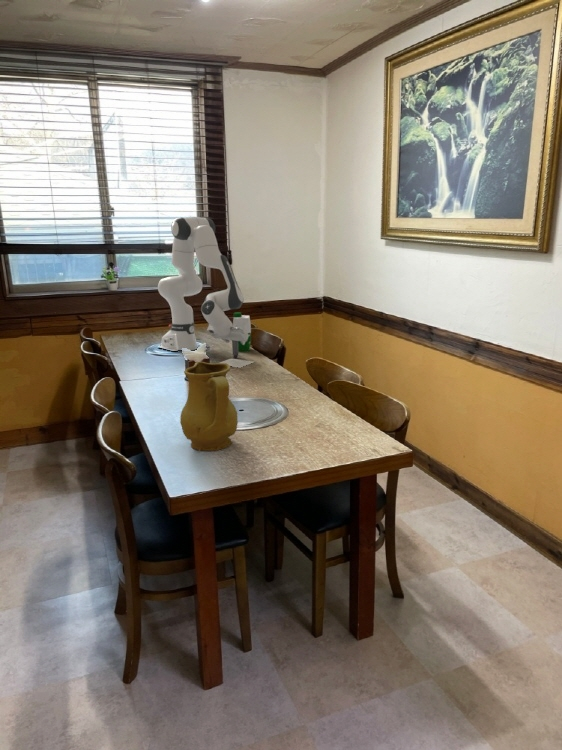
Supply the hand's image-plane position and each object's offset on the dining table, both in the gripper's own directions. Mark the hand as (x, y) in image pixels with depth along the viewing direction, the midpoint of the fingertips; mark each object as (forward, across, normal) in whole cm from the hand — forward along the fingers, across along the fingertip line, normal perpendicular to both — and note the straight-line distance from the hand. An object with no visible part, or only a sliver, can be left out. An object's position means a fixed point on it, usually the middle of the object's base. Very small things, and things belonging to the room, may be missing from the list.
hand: (235, 342), depth 266 cm
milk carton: (+16, +6, -5) cm, 17 cm away
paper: (-2, -7, +13) cm, 15 cm away
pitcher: (-62, -57, +72) cm, 111 cm away
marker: (+5, 0, +6) cm, 8 cm away
